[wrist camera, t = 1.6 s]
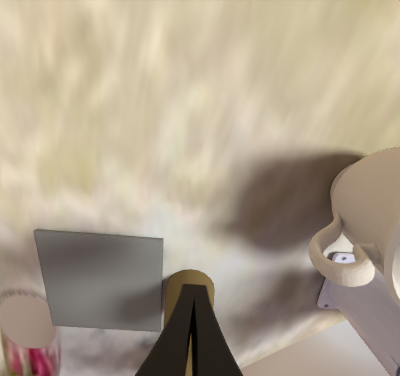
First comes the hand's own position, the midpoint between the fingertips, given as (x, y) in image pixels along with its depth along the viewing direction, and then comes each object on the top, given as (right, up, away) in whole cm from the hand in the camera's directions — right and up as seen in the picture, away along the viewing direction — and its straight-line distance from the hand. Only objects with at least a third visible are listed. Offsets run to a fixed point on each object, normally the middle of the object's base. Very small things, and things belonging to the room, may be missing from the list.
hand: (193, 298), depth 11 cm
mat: (-11, -5, +12) cm, 18 cm away
